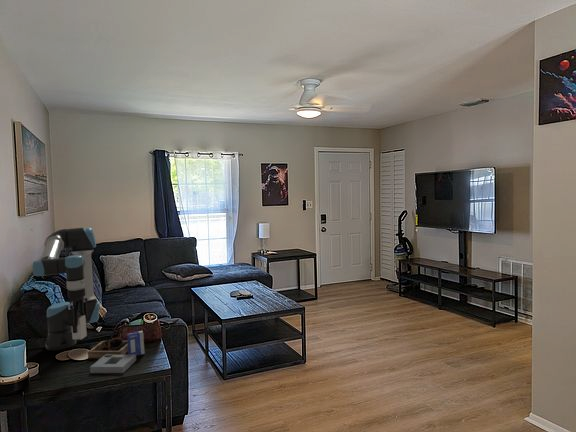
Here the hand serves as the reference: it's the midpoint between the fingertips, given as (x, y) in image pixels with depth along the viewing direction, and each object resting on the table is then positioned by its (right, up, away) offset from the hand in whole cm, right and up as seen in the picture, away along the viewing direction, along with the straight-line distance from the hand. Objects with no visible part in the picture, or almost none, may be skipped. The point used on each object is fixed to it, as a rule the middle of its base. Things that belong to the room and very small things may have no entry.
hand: (79, 336), depth 201 cm
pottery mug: (+7, -15, +24) cm, 29 cm away
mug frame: (+6, -15, +23) cm, 28 cm away
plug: (0, 0, 0) cm, 0 cm away
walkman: (+20, -15, +19) cm, 31 cm away
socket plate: (+14, -16, +5) cm, 22 cm away
